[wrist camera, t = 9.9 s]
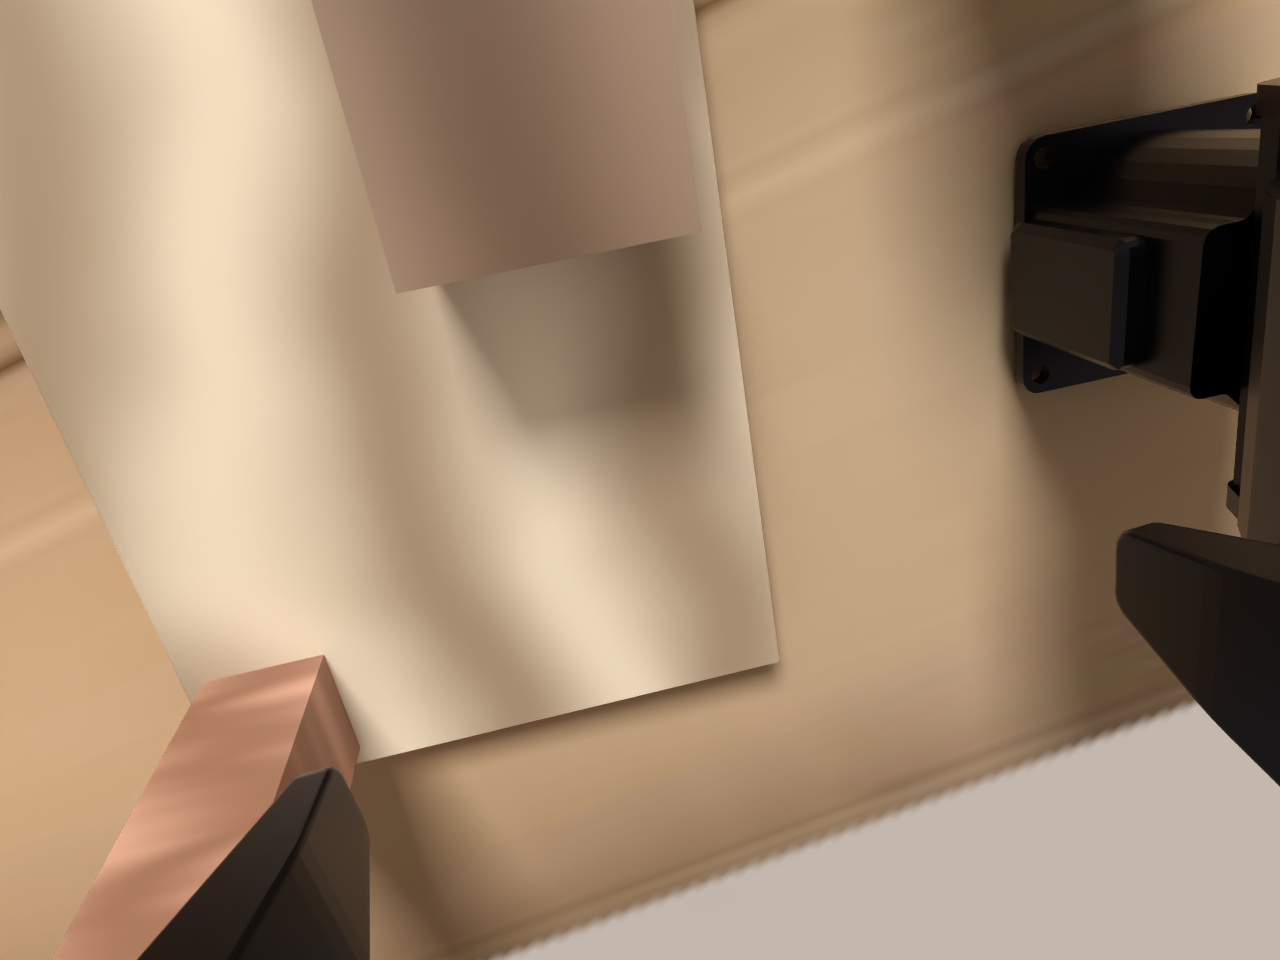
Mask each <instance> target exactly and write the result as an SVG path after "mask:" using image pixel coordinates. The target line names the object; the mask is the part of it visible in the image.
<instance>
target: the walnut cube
mask: <svg viewBox="0 0 1280 960" xmlns="http://www.w3.org/2000/svg"><path fill="white" fill-rule="evenodd" d="M311 2H312V5H313V9H314V12H315V16H316V19H317V23H318V26H319V29H320V33H321V36H322V40H323V43H324V47H325V50H326V54H327V57H328V61H329V64H330V67H331V71H332V74H333V78H334V81H335V85H336V88H337V92H338V95H339V98H340V102H341V105H342V109H343V112H344V116H345V119H346V123H347V126H348V129H349V133H350V136H351V140H352V143H353V147H354V150H355V154H356V157H357V161H358V164H359V167H360V171H361V174H362V178H363V181H364V185H365V188H366V192H367V195H368V198H369V202H370V205H371V209H372V212H373V216H374V219H375V223H376V226H377V229H378V233H379V236H380V240H381V243H382V247H383V250H384V254H385V257H386V260H387V264H388V267H389V271H390V274H391V278H392V281H393V285H394V288H395V292H396V294H398V293H403V292H408V291H413V290H418V289H423V288H428V287H432V286H437V285H442V284H447V283H452V282H457V281H462V280H467V279H472V278H477V277H482V276H487V275H492V274H497V273H502V272H507V271H512V270H516V269H521V268H526V267H531V266H536V265H541V264H546V263H551V262H556V261H561V260H566V259H571V258H576V257H581V256H586V255H591V254H596V253H600V252H605V251H610V250H615V249H620V248H625V247H630V246H635V245H640V244H645V243H650V242H655V241H660V240H665V239H670V238H675V237H680V236H684V235H689V234H694V233H699V232H702V229H701V221H700V214H699V207H698V200H697V193H696V186H695V179H694V171H693V164H692V157H691V150H690V143H689V136H688V129H687V121H686V114H685V107H684V100H683V93H682V86H681V79H680V71H679V64H678V57H677V50H676V43H675V36H674V29H673V22H672V14H671V7H670V0H311Z"/></svg>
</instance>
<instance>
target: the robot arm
mask: <svg viewBox="0 0 1280 960" xmlns="http://www.w3.org/2000/svg"><path fill="white" fill-rule="evenodd" d="M1250 107H1251V111H1252V114H1251V117H1250V120H1249V121H1248V122H1247V123H1246V114H1247V111H1248V110H1249V108H1250ZM1040 148H1042V149H1043V150H1044V153H1045V157H1044V161H1043V162H1042V163H1041V165H1040V166H1038V167H1037V166H1036V164H1035V160H1034V159H1035V155H1036V153H1037V151H1038V150H1039V149H1040ZM1011 327H1012V328H1013V329H1015V379H1016V382H1017V383H1018V385H1019V386H1020V387H1023V388H1025V389H1027V390H1029V391H1031V392H1033V393H1040V392H1045V391H1049V390H1054V389H1058V388H1063V387H1067V386H1072V385H1076V384H1081V383H1085V382H1090V381H1094V380H1099V379H1103V378H1108V377H1112V376H1117V375H1121V374H1126V373H1130V374H1132V375H1135V376H1138V377H1140V378H1143V379H1146V380H1148V381H1151V382H1153V383H1156V384H1159V385H1161V386H1164V387H1167V388H1169V389H1172V390H1175V391H1177V392H1180V393H1182V394H1185V395H1188V396H1190V397H1193V398H1196V399H1204V398H1205V399H1208V400H1211V401H1213V402H1216V403H1219V404H1221V405H1224V406H1227V407H1229V408H1232V409H1235V410H1237V411H1239V415H1238V428H1237V441H1236V454H1235V467H1234V479H1233V480H1232V481H1229V483H1228V485H1227V499H1226V506H1227V508H1228V509H1229V510H1230V511H1231V512H1232V513H1233V515H1234V516H1235V517H1236V518H1237V519H1238V523H1237V525H1238V528H1239V531H1240V534H1241V537H1242V538H1240V537H1235V536H1229V535H1224V534H1218V533H1213V532H1207V531H1202V530H1196V529H1191V528H1186V527H1180V526H1175V525H1169V524H1164V523H1150V524H1146V525H1143V526H1140V527H1136V528H1133V529H1130V530H1126V531H1124V532H1123V533H1121V534H1120V535H1119V537H1118V539H1117V541H1116V564H1115V594H1116V599H1117V602H1118V605H1119V607H1120V609H1121V611H1122V612H1123V614H1124V615H1125V617H1126V618H1127V619H1128V620H1129V621H1130V622H1131V624H1132V625H1133V626H1134V627H1135V628H1136V630H1137V631H1138V632H1139V633H1140V634H1141V636H1142V637H1143V638H1144V639H1145V640H1146V642H1147V643H1148V644H1149V645H1150V646H1151V648H1152V649H1153V650H1154V651H1155V652H1156V654H1157V655H1158V656H1159V657H1160V658H1161V660H1162V661H1163V662H1164V663H1165V664H1166V666H1167V667H1168V668H1169V669H1170V670H1171V672H1172V673H1173V674H1174V675H1175V676H1176V678H1177V679H1178V680H1179V681H1180V682H1181V684H1182V685H1183V686H1184V687H1185V688H1186V690H1187V691H1188V692H1189V693H1190V694H1191V696H1192V697H1193V698H1194V699H1195V700H1196V701H1197V703H1198V704H1199V705H1200V706H1201V707H1202V708H1203V709H1204V710H1205V712H1206V713H1207V714H1208V715H1209V716H1210V717H1211V718H1212V719H1213V720H1214V721H1215V722H1216V724H1217V725H1218V726H1219V727H1221V729H1222V730H1223V731H1224V732H1225V733H1226V734H1227V735H1228V736H1229V737H1230V738H1231V739H1232V740H1233V741H1234V742H1235V743H1236V744H1237V745H1238V746H1239V747H1240V748H1242V750H1243V751H1244V752H1245V753H1246V754H1247V755H1248V756H1250V757H1251V759H1252V760H1254V762H1256V763H1257V764H1258V765H1259V766H1260V767H1261V768H1262V769H1263V770H1264V771H1265V772H1266V773H1267V774H1268V775H1269V776H1270V777H1271V778H1272V779H1273V780H1274V781H1275V782H1276V783H1277V784H1278V785H1279V786H1280V78H1276V79H1272V80H1268V81H1264V82H1261V83H1258V84H1257V93H1245V94H1240V95H1235V96H1230V97H1225V98H1220V99H1215V100H1210V101H1205V102H1200V103H1195V104H1190V105H1185V106H1179V107H1174V108H1169V109H1164V110H1159V111H1154V112H1149V113H1144V114H1139V115H1134V116H1129V117H1124V118H1119V119H1114V120H1109V121H1104V122H1099V123H1094V124H1089V125H1084V126H1079V127H1074V128H1069V129H1064V130H1059V131H1054V132H1049V133H1044V134H1039V135H1035V136H1032V137H1030V138H1028V139H1027V140H1026V141H1025V142H1024V143H1022V144H1021V146H1020V148H1019V150H1018V152H1017V156H1016V202H1015V228H1014V230H1013V232H1012V233H1011ZM1039 366H1040V367H1041V371H1040V374H1039V375H1038V377H1037V378H1035V379H1033V380H1032V373H1033V371H1034V370H1035V369H1036V368H1037V367H1039ZM136 960H370V866H369V834H368V829H367V826H366V822H365V820H364V817H363V815H362V813H361V811H360V809H359V807H358V805H357V803H356V801H355V799H354V797H353V795H352V793H351V791H350V789H349V787H348V785H347V783H346V781H345V779H344V777H343V775H342V774H341V772H340V771H339V770H338V769H337V768H334V767H326V768H323V769H320V770H316V771H313V772H309V773H306V774H303V775H300V776H298V777H296V778H295V779H294V780H293V781H292V782H291V783H290V784H289V785H288V786H287V787H286V789H285V790H284V791H283V792H282V793H281V794H280V795H279V797H278V798H277V799H276V800H275V801H274V802H273V803H272V805H271V806H270V807H269V808H268V809H267V810H266V811H265V813H264V814H263V815H262V816H261V817H260V818H259V820H258V821H257V822H256V823H255V824H254V825H253V826H252V828H251V829H250V830H249V831H248V832H247V833H246V834H245V836H244V837H243V838H242V839H241V840H240V841H239V842H238V844H237V845H236V846H235V847H234V848H233V849H232V850H231V852H230V853H229V854H228V855H227V856H226V857H225V859H224V860H223V861H222V862H221V863H220V864H219V865H218V867H217V868H216V869H215V870H214V871H213V872H212V873H211V875H210V876H209V877H208V878H207V879H206V880H205V881H204V883H203V884H202V885H201V886H200V887H199V888H198V890H197V891H196V892H195V893H194V894H193V895H192V896H191V898H190V899H189V900H188V901H187V902H186V903H185V904H184V906H183V907H182V908H181V909H180V910H179V911H178V912H177V914H176V915H175V916H174V917H173V918H172V919H171V920H170V922H169V923H168V924H167V925H166V926H165V927H164V929H163V930H162V931H161V932H160V933H159V934H158V935H157V937H156V938H155V939H154V940H153V941H152V942H151V943H150V945H149V946H148V947H147V948H146V949H145V950H144V951H143V953H142V954H141V955H140V956H139V957H138V958H137V959H136Z"/></svg>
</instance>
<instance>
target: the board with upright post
mask: <svg viewBox="0 0 1280 960" xmlns="http://www.w3.org/2000/svg"><path fill="white" fill-rule="evenodd" d="M670 7H671V14H672V22H673V29H674V36H675V43H676V50H677V57H678V64H679V71H680V79H681V86H682V93H683V100H684V107H685V114H686V121H687V129H688V136H689V143H690V150H691V157H692V164H693V171H694V179H695V186H696V193H697V200H698V207H699V214H700V221H701V229H702V232H699V233H694V234H689V235H684V236H680V237H675V238H670V239H665V240H660V241H655V242H650V243H645V244H640V245H635V246H630V247H625V248H620V249H615V250H610V251H605V252H600V253H596V254H591V255H586V256H581V257H576V258H571V259H566V260H561V261H556V262H551V263H546V264H541V265H536V266H531V267H526V268H521V269H516V270H512V271H507V272H502V273H497V274H492V275H487V276H482V277H477V278H472V279H467V280H462V281H457V282H452V283H447V284H442V285H437V286H432V287H428V288H423V289H418V290H413V291H408V292H403V293H398V294H396V292H395V288H394V285H393V281H392V278H391V274H390V271H389V267H388V264H387V260H386V257H385V254H384V250H383V247H382V243H381V240H380V236H379V233H378V229H377V226H376V223H375V219H374V216H373V212H372V209H371V205H370V202H369V198H368V195H367V192H366V188H365V185H364V181H363V178H362V174H361V171H360V167H359V164H358V161H357V157H356V154H355V150H354V147H353V143H352V140H351V136H350V133H349V129H348V126H347V123H346V119H345V116H344V112H343V109H342V105H341V102H340V98H339V95H338V92H337V88H336V85H335V81H334V78H333V74H332V71H331V67H330V64H329V61H328V57H327V54H326V50H325V47H324V43H323V40H322V36H321V33H320V29H319V26H318V23H317V19H316V16H315V12H314V9H313V5H312V2H311V0H0V309H1V311H2V314H3V316H4V318H5V320H6V322H7V324H8V326H9V328H10V330H11V332H12V334H13V336H14V338H15V341H16V343H17V345H18V347H19V349H20V351H21V353H22V355H23V357H24V359H25V361H26V363H27V365H28V367H29V370H30V372H31V374H32V376H33V378H34V380H35V382H36V384H37V386H38V388H39V390H40V392H41V394H42V396H43V399H44V401H45V403H46V405H47V407H48V409H49V411H50V413H51V415H52V417H53V419H54V421H55V423H56V426H57V428H58V430H59V432H60V434H61V436H62V438H63V440H64V442H65V444H66V446H67V448H68V450H69V452H70V455H71V457H72V459H73V461H74V463H75V465H76V467H77V469H78V471H79V473H80V475H81V477H82V479H83V481H84V484H85V486H86V488H87V490H88V492H89V494H90V496H91V498H92V500H93V502H94V504H95V506H96V508H97V511H98V513H99V515H100V517H101V519H102V521H103V523H104V525H105V527H106V529H107V531H108V533H109V535H110V537H111V540H112V542H113V544H114V546H115V548H116V550H117V552H118V554H119V556H120V558H121V560H122V562H123V564H124V566H125V569H126V571H127V573H128V575H129V577H130V579H131V581H132V583H133V585H134V587H135V589H136V591H137V593H138V596H139V598H140V600H141V602H142V604H143V606H144V608H145V610H146V612H147V614H148V616H149V618H150V620H151V622H152V625H153V627H154V629H155V631H156V633H157V635H158V637H159V639H160V641H161V643H162V645H163V647H164V649H165V651H166V654H167V656H168V658H169V660H170V662H171V664H172V666H173V668H174V670H175V672H176V674H177V676H178V678H179V681H180V683H181V685H182V687H183V689H184V691H185V693H186V695H187V697H188V699H189V701H190V703H191V705H190V707H189V709H188V711H187V713H186V715H185V716H184V718H183V720H182V722H181V724H180V726H179V727H178V729H177V731H176V733H175V735H174V737H173V738H172V740H171V742H170V744H169V746H168V748H167V749H166V751H165V753H164V755H163V757H162V759H161V760H160V762H159V764H158V766H157V768H156V769H155V771H154V773H153V775H152V777H151V779H150V780H149V782H148V784H147V786H146V788H145V790H144V791H143V793H142V795H141V797H140V799H139V801H138V802H137V804H136V806H135V808H134V810H133V812H132V813H131V815H130V817H129V819H128V821H127V823H126V824H125V826H124V828H123V830H122V832H121V834H120V835H119V837H118V839H117V841H116V843H115V845H114V846H113V848H112V850H111V852H110V854H109V856H108V857H107V859H106V861H105V863H104V865H103V867H102V868H101V870H100V872H99V874H98V876H97V878H96V879H95V881H94V883H93V885H92V887H91V889H90V890H89V892H88V894H87V896H86V898H85V900H84V901H83V903H82V905H81V907H80V909H79V911H78V912H77V914H76V916H75V918H74V920H73V922H72V923H71V925H70V927H69V929H68V931H67V932H66V934H65V936H64V938H63V940H62V942H61V943H60V945H59V947H58V949H57V951H56V953H55V954H54V956H53V958H52V960H136V959H137V958H138V957H139V956H140V955H141V954H142V953H143V951H144V950H145V949H146V948H147V947H148V946H149V945H150V943H151V942H152V941H153V940H154V939H155V938H156V937H157V935H158V934H159V933H160V932H161V931H162V930H163V929H164V927H165V926H166V925H167V924H168V923H169V922H170V920H171V919H172V918H173V917H174V916H175V915H176V914H177V912H178V911H179V910H180V909H181V908H182V907H183V906H184V904H185V903H186V902H187V901H188V900H189V899H190V898H191V896H192V895H193V894H194V893H195V892H196V891H197V890H198V888H199V887H200V886H201V885H202V884H203V883H204V881H205V880H206V879H207V878H208V877H209V876H210V875H211V873H212V872H213V871H214V870H215V869H216V868H217V867H218V865H219V864H220V863H221V862H222V861H223V860H224V859H225V857H226V856H227V855H228V854H229V853H230V852H231V850H232V849H233V848H234V847H235V846H236V845H237V844H238V842H239V841H240V840H241V839H242V838H243V837H244V836H245V834H246V833H247V832H248V831H249V830H250V829H251V828H252V826H253V825H254V824H255V823H256V822H257V821H258V820H259V818H260V817H261V816H262V815H263V814H264V813H265V811H266V810H267V809H268V808H269V807H270V806H271V805H272V803H273V802H274V801H275V800H276V799H277V798H278V797H279V795H280V794H281V793H282V792H283V791H284V790H285V789H286V787H287V786H288V785H289V784H290V783H291V782H292V781H293V780H294V779H295V778H296V777H298V776H300V775H303V774H306V773H309V772H313V771H316V770H320V769H323V768H326V767H334V768H337V769H338V770H339V771H340V772H341V774H342V775H343V777H344V779H345V781H346V783H347V785H348V787H349V789H351V785H352V780H353V776H354V772H355V767H356V764H358V763H362V762H366V761H371V760H375V759H379V758H383V757H387V756H391V755H395V754H400V753H404V752H408V751H412V750H416V749H420V748H424V747H429V746H433V745H437V744H441V743H445V742H449V741H453V740H458V739H462V738H466V737H470V736H474V735H478V734H482V733H487V732H491V731H495V730H499V729H503V728H507V727H511V726H516V725H520V724H524V723H528V722H532V721H536V720H540V719H545V718H549V717H553V716H557V715H561V714H565V713H569V712H574V711H578V710H582V709H586V708H590V707H594V706H598V705H603V704H607V703H611V702H615V701H619V700H623V699H627V698H632V697H636V696H640V695H644V694H648V693H652V692H656V691H661V690H665V689H669V688H673V687H677V686H681V685H685V684H690V683H694V682H698V681H702V680H706V679H710V678H714V677H719V676H723V675H727V674H731V673H735V672H739V671H743V670H748V669H752V668H756V667H760V666H764V665H768V664H772V663H777V662H779V654H778V646H777V639H776V631H775V623H774V616H773V608H772V600H771V593H770V585H769V577H768V569H767V562H766V554H765V546H764V539H763V531H762V523H761V516H760V508H759V500H758V493H757V485H756V477H755V470H754V462H753V454H752V446H751V439H750V431H749V423H748V416H747V408H746V400H745V393H744V385H743V377H742V370H741V362H740V354H739V346H738V339H737V331H736V323H735V316H734V308H733V300H732V293H731V285H730V277H729V270H728V262H727V254H726V246H725V239H724V231H723V223H722V216H721V208H720V200H719V193H718V185H717V177H716V170H715V162H714V154H713V146H712V139H711V131H710V123H709V116H708V108H707V100H706V93H705V85H704V77H703V70H702V62H701V54H700V46H699V39H698V31H697V23H696V16H695V8H694V0H670Z"/></svg>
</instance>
